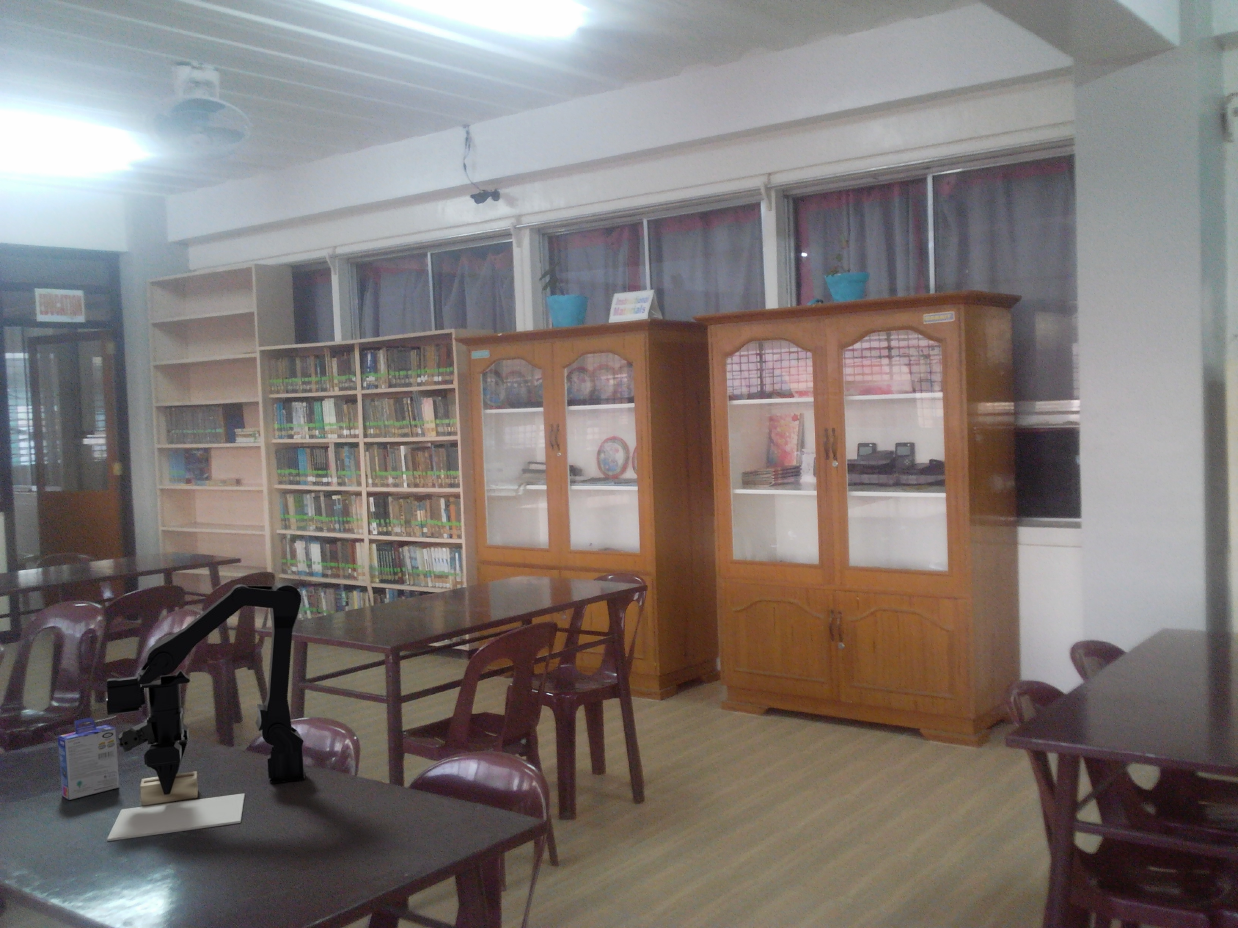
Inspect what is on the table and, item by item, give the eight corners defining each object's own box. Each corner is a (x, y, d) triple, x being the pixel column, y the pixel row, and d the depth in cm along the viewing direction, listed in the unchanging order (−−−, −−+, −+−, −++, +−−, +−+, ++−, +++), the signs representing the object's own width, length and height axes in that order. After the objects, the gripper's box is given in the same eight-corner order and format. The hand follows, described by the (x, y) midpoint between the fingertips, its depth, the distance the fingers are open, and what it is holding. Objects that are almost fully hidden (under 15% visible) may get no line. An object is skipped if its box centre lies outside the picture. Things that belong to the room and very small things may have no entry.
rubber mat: (244, 795, 210) (244, 793, 210) (240, 822, 195) (240, 820, 195) (121, 811, 204) (121, 809, 204) (107, 840, 188) (107, 838, 188)
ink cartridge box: (111, 782, 222) (107, 712, 222) (121, 787, 218) (117, 716, 218) (59, 795, 215) (55, 723, 215) (69, 801, 211) (64, 727, 211)
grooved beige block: (197, 790, 215) (196, 769, 215) (197, 798, 210) (196, 777, 210) (143, 798, 211) (141, 777, 211) (141, 806, 207) (140, 785, 207)
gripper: (127, 701, 217) (132, 778, 217) (112, 724, 199) (117, 807, 199) (187, 695, 220) (191, 770, 221) (177, 717, 202) (181, 799, 203)
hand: (169, 786), depth 211 cm, fingers open, 9 cm apart
